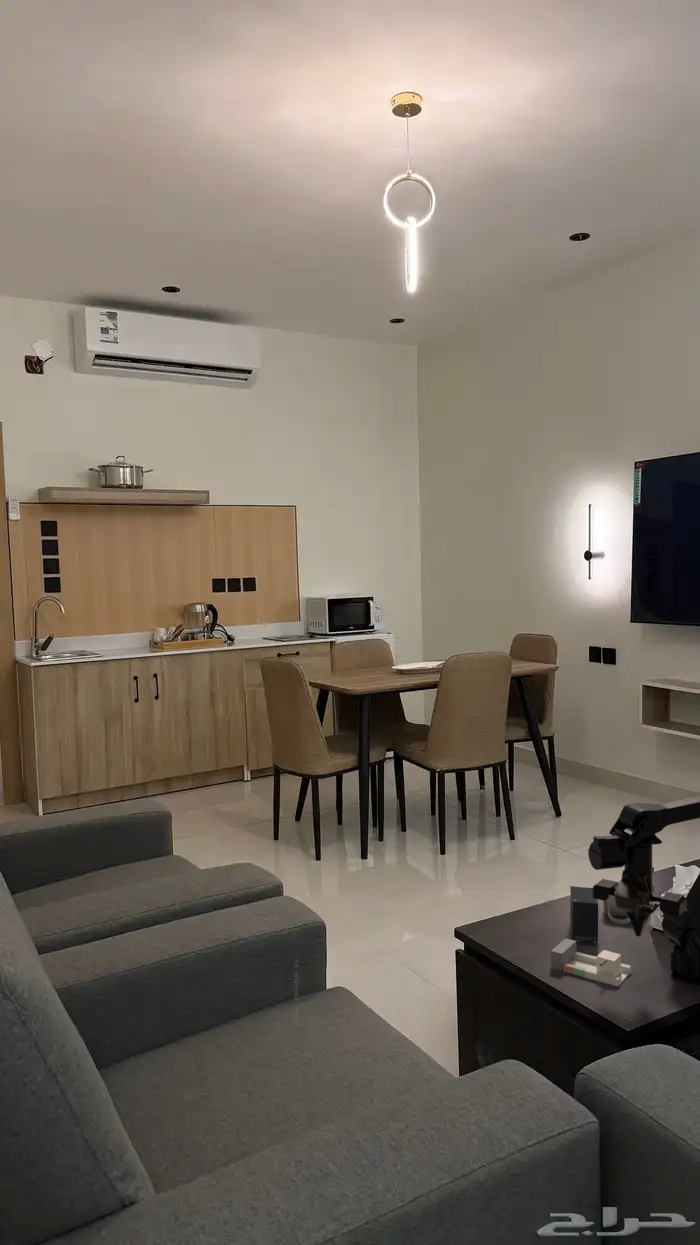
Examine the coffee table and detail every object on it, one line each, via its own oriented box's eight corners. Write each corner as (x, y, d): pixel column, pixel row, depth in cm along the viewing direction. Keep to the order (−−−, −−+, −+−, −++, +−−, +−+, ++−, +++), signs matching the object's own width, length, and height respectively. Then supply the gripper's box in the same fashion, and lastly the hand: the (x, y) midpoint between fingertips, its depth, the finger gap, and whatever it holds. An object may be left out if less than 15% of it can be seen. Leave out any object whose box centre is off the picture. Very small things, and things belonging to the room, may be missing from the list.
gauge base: (631, 972, 193) (631, 954, 193) (618, 986, 187) (618, 968, 186) (565, 955, 202) (565, 938, 202) (551, 968, 196) (551, 950, 196)
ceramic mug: (602, 908, 229) (602, 879, 229) (634, 910, 228) (634, 881, 227) (604, 925, 219) (604, 895, 219) (638, 927, 217) (638, 897, 217)
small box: (599, 946, 207) (599, 902, 206) (571, 944, 208) (571, 901, 207) (596, 928, 217) (596, 886, 216) (569, 926, 218) (569, 885, 218)
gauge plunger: (621, 972, 192) (621, 954, 192) (609, 984, 187) (609, 966, 187) (603, 967, 195) (603, 949, 194) (591, 979, 189) (591, 961, 189)
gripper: (581, 867, 186) (582, 938, 187) (670, 884, 174) (671, 960, 175) (601, 852, 194) (602, 921, 195) (687, 868, 183) (687, 941, 184)
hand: (638, 935), depth 187 cm, fingers closed
